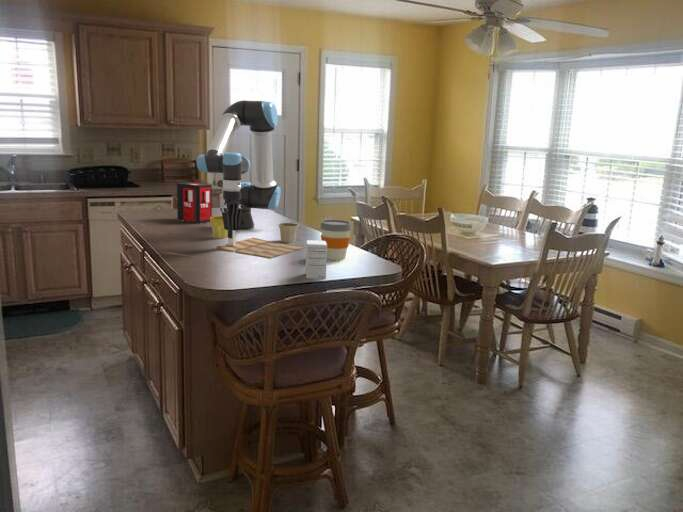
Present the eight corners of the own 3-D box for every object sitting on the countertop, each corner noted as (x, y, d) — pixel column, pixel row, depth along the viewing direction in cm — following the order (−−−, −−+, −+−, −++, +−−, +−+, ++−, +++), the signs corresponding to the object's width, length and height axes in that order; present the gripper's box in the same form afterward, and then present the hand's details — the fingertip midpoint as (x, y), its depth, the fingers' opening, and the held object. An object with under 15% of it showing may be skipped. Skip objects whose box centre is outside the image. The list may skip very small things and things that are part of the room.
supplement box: (305, 273, 218) (306, 239, 216) (325, 273, 219) (326, 240, 216) (305, 278, 211) (306, 243, 208) (326, 279, 212) (327, 244, 209)
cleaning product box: (177, 220, 320) (176, 183, 315) (189, 218, 327) (189, 182, 323) (199, 224, 311) (199, 186, 307) (211, 222, 319) (211, 185, 314)
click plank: (253, 240, 272) (253, 237, 271) (269, 243, 268) (269, 241, 268) (216, 249, 249) (216, 246, 249) (233, 253, 245) (233, 250, 245)
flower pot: (301, 242, 275) (302, 223, 274) (293, 245, 267) (293, 226, 265) (283, 240, 278) (283, 222, 276) (274, 243, 270) (274, 224, 268)
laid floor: (269, 244, 268) (269, 241, 267) (304, 249, 259) (304, 246, 259) (234, 253, 245) (234, 251, 245) (271, 260, 237) (271, 257, 237)
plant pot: (237, 238, 277) (237, 218, 275) (218, 241, 269) (218, 220, 267) (223, 235, 284) (223, 215, 282) (205, 237, 276) (205, 216, 274)
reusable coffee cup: (339, 262, 238) (340, 226, 234) (313, 258, 244) (314, 222, 241) (355, 257, 248) (356, 222, 245) (330, 253, 254) (331, 218, 251)
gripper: (229, 192, 240) (229, 248, 245) (248, 189, 251) (248, 244, 256) (214, 190, 243) (214, 246, 248) (234, 188, 255) (234, 241, 260)
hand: (231, 245), depth 252 cm, fingers closed
